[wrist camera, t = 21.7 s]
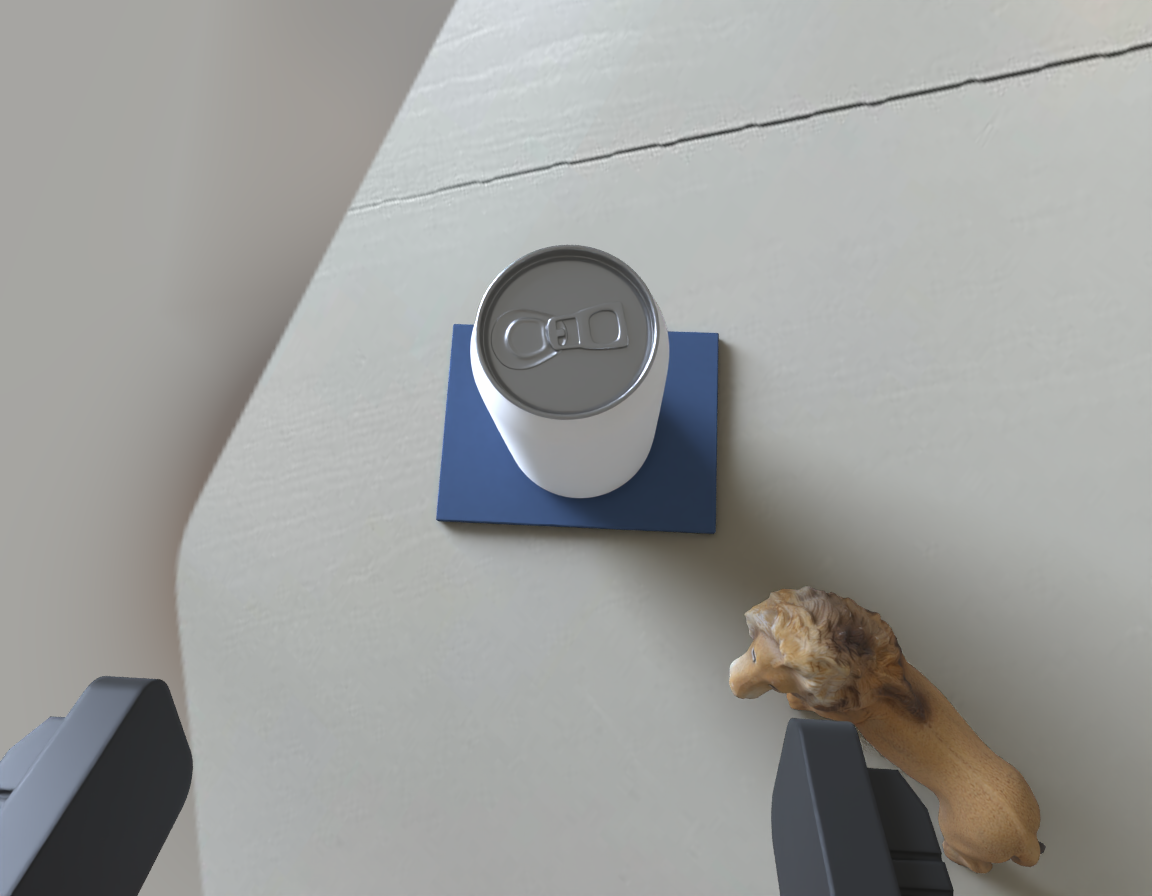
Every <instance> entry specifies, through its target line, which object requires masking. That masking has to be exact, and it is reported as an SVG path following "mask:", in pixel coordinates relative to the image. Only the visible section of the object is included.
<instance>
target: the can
mask: <svg viewBox="0 0 1152 896" xmlns="http://www.w3.org/2000/svg"><path fill="white" fill-rule="evenodd" d="M470 353H471V364H472V370H473V375H474V379H475V382H476V385H477V387H478V390H479V392H480V394H481V397H482V399H483V401H484V403H485V405H486V407H487V409H488V411H489V413H490V415H491V417H492V419H493V420H494V422H495V424H496V426H497V428H498V430H499V432H500V434H501V436H502V438H503V439H504V441H505V443H506V445H507V447H508V449H509V451H510V452H511V454H512V456H513V458H514V459H515V461H516V463H517V464H518V466H519V467H520V469H521V470H522V471H523V472H524V474H525V475H526V476H527V477H528V478H529V479H531V480H532V481H533V482H534V483H535V484H537V485H538V486H540V487H541V488H543V489H545V490H547V491H549V492H551V493H554V494H557V495H560V496H564V497H570V498H590V497H596V496H600V495H603V494H606V493H609V492H611V491H613V490H615V489H617V488H619V487H620V486H622V485H623V484H625V483H626V482H627V481H629V480H630V479H631V478H632V477H633V476H634V475H635V474H636V473H637V472H638V470H639V469H640V468H641V466H642V465H643V463H644V462H645V460H646V458H647V456H648V454H649V452H650V449H651V446H652V443H653V439H654V435H655V431H656V426H657V422H658V417H659V412H660V407H661V403H662V398H663V393H664V388H665V382H666V377H667V371H668V363H669V338H668V332H667V327H666V323H665V320H664V317H663V314H662V312H661V310H660V308H659V306H658V304H657V302H656V301H655V299H654V298H653V296H652V295H651V293H650V291H649V289H648V288H647V286H646V285H645V283H644V282H643V280H642V279H641V278H640V277H639V275H638V274H637V273H636V272H635V271H634V270H633V269H632V268H630V267H629V266H628V265H627V264H626V263H624V262H623V261H621V260H620V259H618V258H616V257H615V256H613V255H611V254H609V253H606V252H604V251H601V250H598V249H595V248H591V247H586V246H579V245H558V246H551V247H547V248H543V249H539V250H536V251H534V252H531V253H529V254H527V255H525V256H523V257H521V258H519V259H518V260H516V261H514V262H513V263H512V264H510V265H509V266H508V267H507V268H505V269H504V270H503V271H502V272H501V273H500V274H499V275H498V276H497V277H496V279H495V280H494V281H493V282H492V284H491V285H490V286H489V288H488V290H487V291H486V293H485V295H484V297H483V299H482V301H481V304H480V307H479V310H478V313H477V318H476V321H475V324H474V328H473V332H472V337H471V349H470Z"/></svg>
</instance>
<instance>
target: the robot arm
mask: <svg viewBox="0 0 1152 896" xmlns="http://www.w3.org/2000/svg"><path fill="white" fill-rule="evenodd" d="M192 770H193V761H192V755H191V751H190V748H189V745H188V742H187V740H186V736H185V734H184V731H183V728H182V725H181V722H180V719H179V716H178V713H177V710H176V707H175V705H174V702H173V699H172V696H171V693H170V690H169V688H168V686H167V684H166V683H165V682H164V681H162V680H160V679H146V678H128V677H111V676H102V677H99V678H97V679H96V680H94V681H93V682H92V683H91V684H90V685H89V686H88V687H87V688H86V690H85V691H84V692H83V694H82V695H81V697H80V698H79V699H78V701H77V702H76V703H75V705H74V706H73V708H72V709H71V711H70V712H69V714H68V715H67V716H66V717H49V718H48V719H47V720H46V721H45V722H43V723H42V724H41V725H39V726H38V727H37V728H36V729H34V730H33V731H32V732H31V733H29V734H28V735H27V736H26V737H24V738H23V739H22V740H20V741H19V742H18V743H17V744H16V745H14V746H13V747H12V748H11V749H9V751H8V752H7V753H6V755H5V756H4V757H3V759H2V760H1V761H0V896H137V895H138V893H139V891H140V889H141V887H142V885H143V883H144V882H145V880H146V878H147V876H148V874H149V872H150V870H151V868H152V866H153V864H154V862H155V860H156V858H157V856H158V854H159V852H160V850H161V848H162V846H163V844H164V842H165V840H166V839H167V837H168V835H169V833H170V830H171V829H172V827H173V825H174V823H175V821H176V819H177V817H178V815H179V813H180V811H181V809H182V807H183V805H184V803H185V800H186V798H187V795H188V792H189V789H190V784H191V779H192ZM771 823H772V839H773V848H774V855H775V862H776V869H777V875H778V882H779V889H780V896H953V891H954V890H953V887H952V884H951V881H950V877H949V874H948V871H947V868H946V865H945V862H942V858H941V854H942V853H941V850H940V847H939V843H938V840H937V837H936V834H935V831H934V828H933V825H932V822H931V819H930V816H929V813H928V809H927V808H926V807H925V805H924V804H923V803H922V801H921V800H920V799H919V797H918V796H917V795H916V793H915V792H914V791H913V789H912V788H911V787H910V786H909V784H908V783H907V782H906V780H905V779H904V778H903V776H902V775H901V774H900V772H899V771H898V770H891V769H874V768H867V766H866V762H865V759H864V755H863V751H862V747H861V744H860V740H859V736H858V733H857V731H856V728H855V726H854V725H853V723H852V722H849V721H833V720H816V719H798V718H791V719H790V720H789V722H788V725H787V729H786V734H785V739H784V743H783V748H782V753H781V757H780V762H779V767H778V771H777V776H776V781H775V785H774V790H773V796H772V810H771Z"/></svg>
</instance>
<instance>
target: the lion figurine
mask: <svg viewBox="0 0 1152 896" xmlns="http://www.w3.org/2000/svg"><path fill="white" fill-rule="evenodd" d="M744 616H745V617H746V618H747V625H748V627H749V634H750V636H751V637H752V638H753V642H752V644H751V645H750V647H749V649H748V650H747V652H746V653H745V654H744V655H743V656H741V657H739V658H738V659H736V660H735V661H733V662H732V664H731V666H730V679H729V683H730V687H731V690H732V692H733V694H734V695H735V696H736V697H738V698H741V699H744V698H747V699H754V698H758V697H759V696H761V695H762V694H764V693H765V692H767V691H769V690H771V689H773V690H775V691H777V692H779V693H787V699H788V701H789V705H790V707H791V708H793V709H797V710H807V711H814V712H815V713H817V714H818V715H820V716H822V717H825V718H830V719H832V720H835V721H849V722H852V723H853V724H855V726H856V727H857V728H858V730H859V731H860V732H861V734H862V735H863V736H864V737H865V739H866V740H867V741H868V742H869V743H870V744H871V745H872V746H873V747H874V748H875V749H876V750H877V751H879V752H880V753H881V754H882V755H883V756H884V757H885V758H886V759H888V760H889V761H890V762H892V763H893V764H894V765H896V766H897V767H899V768H900V769H901V770H902V771H904V772H905V773H906V774H907V775H909V776H910V777H912V778H913V779H915V780H916V781H918V782H919V783H921V784H923V785H924V786H926V787H928V788H929V789H930V790H932V791H933V792H934V793H935V795H936V796H937V797H938V799H939V802H940V808H939V815H938V821H939V825H940V829H941V832H942V834H943V837H944V841H943V844H942V845H943V848H944V853H945V855H946V856H947V857H948V858H949V859H950V860H952V861H954V862H955V863H957V864H959V865H962V866H965V867H968V868H970V869H971V870H972V871H974V872H976V873H987V872H989V871H990V870H991V869H992V863H1003V862H1006V861H1008V860H1009V859H1010V858H1011V859H1012V861H1013V862H1015V863H1017V864H1019V865H1021V866H1027V867H1032V866H1034V865H1036V864H1037V862H1038V860H1039V857H1040V854H1042V853H1043V852H1044V850H1045V848H1046V846H1045V845H1044V844H1043V843H1041V842H1039V841H1038V839H1037V831H1038V829H1039V827H1040V810H1039V805H1038V803H1037V801H1036V799H1035V796H1034V794H1033V792H1032V790H1031V789H1030V787H1029V785H1028V784H1027V782H1026V780H1025V779H1024V777H1023V776H1022V775H1021V773H1020V772H1019V771H1018V770H1017V769H1016V768H1014V767H1013V766H1012V765H1010V764H1009V763H1008V762H1006V761H1005V760H1003V759H1002V758H1000V757H999V756H998V755H996V754H995V753H994V752H993V751H992V750H991V749H990V748H989V747H988V746H987V745H986V744H985V743H984V742H983V741H982V740H981V739H980V738H979V737H978V736H977V735H976V733H975V732H974V731H973V730H972V729H971V727H970V726H969V725H968V724H967V723H966V721H965V720H964V719H963V718H962V717H961V716H960V714H959V713H958V712H957V711H956V710H955V708H954V707H953V706H952V705H951V703H950V702H949V701H948V700H947V699H946V697H945V696H944V695H943V694H942V693H941V692H940V691H939V690H938V689H937V688H936V687H935V686H934V685H933V684H932V683H931V682H930V681H929V680H928V679H927V678H926V677H925V676H924V675H923V674H922V673H920V672H919V671H918V670H917V669H916V668H914V667H913V666H912V665H910V664H909V663H908V662H907V661H906V659H905V657H904V656H903V654H902V649H901V648H900V646H899V645H898V642H897V638H896V636H895V635H894V633H893V631H892V628H891V627H890V626H889V625H888V624H887V623H886V622H885V621H883V620H882V619H881V616H880V614H879V613H877V612H871V611H869V610H866V609H864V608H862V607H861V606H859V605H857V604H856V602H855V601H853V600H852V599H850V598H842V597H839V596H837V595H836V594H835V593H833V592H830V593H828V594H827V593H826V592H825V591H820V590H816V589H813V588H811V587H809V586H804V587H803V588H801V589H799V590H796V589H781V590H779V591H777V592H771V594H770V597H769V599H767V600H764V601H763V602H761V603H760V604H759V605H755V606H753V607H752V609H751V610H749V611H747V612H746V613H745V614H744Z"/></svg>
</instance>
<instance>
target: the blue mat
mask: <svg viewBox="0 0 1152 896" xmlns="http://www.w3.org/2000/svg"><path fill="white" fill-rule="evenodd" d="M473 328H474V325H463V324H454V326H453V337H452V348H451V360H450V371H449V382H448V393H447V404H446V416H445V427H444V438H443V449H442V461H441V472H440V483H439V494H438V506H437V517H436V520H438V521H446V522H468V523H490V524H511V525H533V526H555V527H577V528H598V529H620V530H642V531H663V532H685V533H707V534H714V533H715V532H716V476H717V409H718V342H719V334H718V333H697V332H668V331H667V332H668V338H669V363H668V371H667V377H666V382H665V388H664V393H663V398H662V403H661V407H660V412H659V417H658V422H657V426H656V431H655V435H654V439H653V443H652V446H651V449H650V452H649V454H648V456H647V458H646V460H645V462H644V463H643V465H642V466H641V468H640V469H639V470H638V472H637V473H636V474H635V475H634V476H633V477H632V478H631V479H630V480H629V481H627V482H626V483H625V484H623V485H622V486H620V487H619V488H617V489H615V490H613V491H611V492H609V493H606V494H603V495H600V496H596V497H590V498H570V497H564V496H560V495H557V494H554V493H551V492H549V491H547V490H545V489H543V488H541V487H540V486H538V485H537V484H535V483H534V482H533V481H532V480H531V479H529V478H528V477H527V476H526V475H525V474H524V472H523V471H522V470H521V469H520V467H519V466H518V464H517V463H516V461H515V459H514V458H513V456H512V454H511V452H510V451H509V449H508V447H507V445H506V443H505V441H504V439H503V438H502V436H501V434H500V432H499V430H498V428H497V426H496V424H495V422H494V420H493V419H492V417H491V415H490V413H489V411H488V409H487V407H486V405H485V403H484V401H483V399H482V397H481V394H480V392H479V390H478V387H477V385H476V382H475V379H474V375H473V370H472V364H471V353H470V349H471V337H472V332H473Z"/></svg>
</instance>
